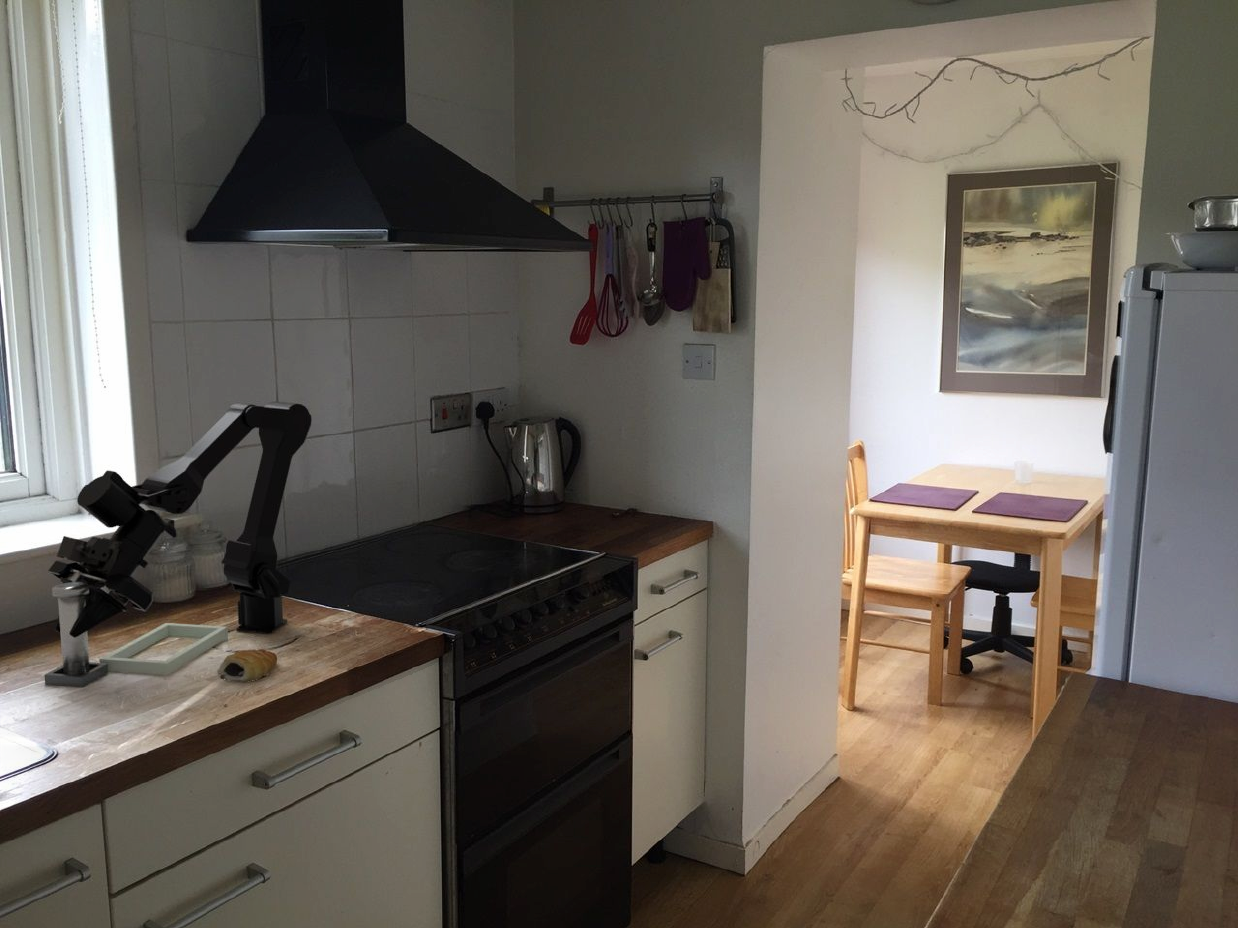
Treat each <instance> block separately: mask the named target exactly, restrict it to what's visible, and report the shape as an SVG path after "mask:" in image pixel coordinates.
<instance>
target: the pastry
mask: <svg viewBox="0 0 1238 928" xmlns="http://www.w3.org/2000/svg"><path fill="white" fill-rule="evenodd" d="M277 663H278V657H277V653H275V652H272V651H270V650H266V649H263V648H260V649H249V650H247V649H246V650H243V649H242V650H240V651H235V652H234V653H233V654H228V655H227V656H226V657H225V658H224V660H223V661H222V663H221V664H220V666H219V668H218V669H217V671H216V672H217V674H218V675H220V679H221V680H224V679H225V680H224V681H227V680H230V682H240V681H242V683H247V681H249V682H253V681H252V680H255V681H257V680H256V679H258V680H260V679H262V677H264V676H265V677H266V676H268V675H269V674H270V673H272V671H273V670H274V669H276V667H277V665H278V664H277ZM268 673H269V674H268ZM267 674H268V675H267ZM259 678H260V679H259Z"/></svg>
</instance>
